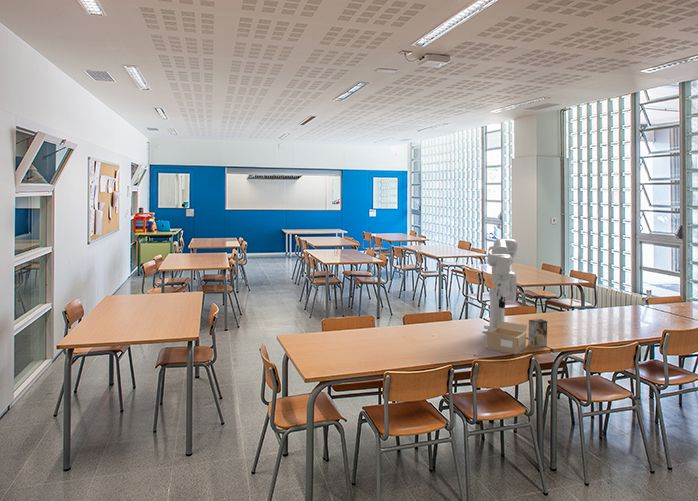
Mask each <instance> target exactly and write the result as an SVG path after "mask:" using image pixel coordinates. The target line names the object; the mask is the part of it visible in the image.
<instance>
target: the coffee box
mask: <svg viewBox="0 0 698 501" xmlns="http://www.w3.org/2000/svg"><path fill="white" fill-rule="evenodd" d="M527 339H528V344H527V345H528V346H530V347H532V348H540V346H543V347H547V346H548V345H547V343H548V342H547V340H548V321H547V320H546V319H542V318H535V319H529V320H528V338H527Z"/></svg>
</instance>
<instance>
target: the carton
mask: <svg viewBox="0 0 698 501" xmlns="http://www.w3.org/2000/svg"><path fill="white" fill-rule="evenodd" d="M490 332H493V333H499V334H505V335H510V336H513V337H515V338H511V337H505V336H499V335H493V334H488V333H487V332H486V333H487V334H486V349H488V350H492V351H497V352H501V353H507V354H513V355H518V354H519V353H520V352H522V351H523V350H525V349H526V346H527V345H526V342H527V332H526V331H525V332H522V331H516V330H510V329H504V328H495V329H493V330H492V331H490Z"/></svg>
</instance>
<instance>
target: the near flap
mask: <svg viewBox="0 0 698 501" xmlns="http://www.w3.org/2000/svg"><path fill="white" fill-rule="evenodd" d="M485 333H488V334H493V335H499V336H505V337H511V338H515V337H513V336H510V335H505V334H499V333H493V332H487V330H486V331H485Z"/></svg>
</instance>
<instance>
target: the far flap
mask: <svg viewBox="0 0 698 501" xmlns="http://www.w3.org/2000/svg"><path fill="white" fill-rule="evenodd" d="M499 328H504V329H510V330H516V331H522V332H526V330H527V328H528V324H521V323H516V322H508V321H504V322H502V321H501V324H500V326H499Z"/></svg>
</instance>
